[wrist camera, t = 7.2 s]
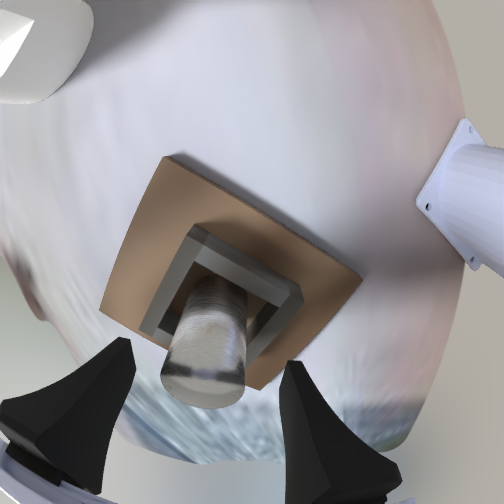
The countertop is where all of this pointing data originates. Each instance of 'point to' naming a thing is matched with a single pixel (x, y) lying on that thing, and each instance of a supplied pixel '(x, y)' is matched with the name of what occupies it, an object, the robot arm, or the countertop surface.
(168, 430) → the countertop surface
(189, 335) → the clear glass cylinder
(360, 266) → the countertop surface
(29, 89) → the cylinder with rectangular tab
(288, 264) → the dock
